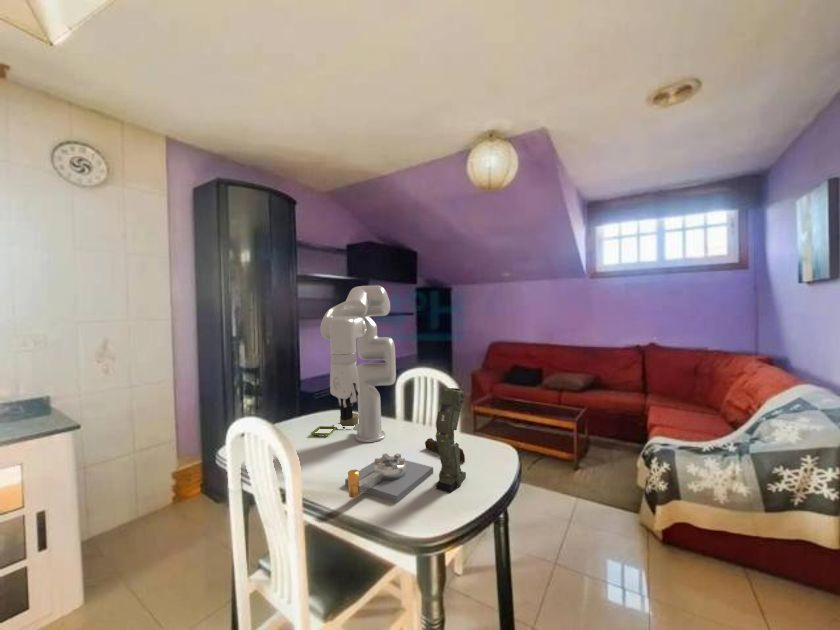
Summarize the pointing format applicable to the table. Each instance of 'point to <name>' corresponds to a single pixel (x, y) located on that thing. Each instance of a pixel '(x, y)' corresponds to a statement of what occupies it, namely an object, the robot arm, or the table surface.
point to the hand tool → (433, 445)
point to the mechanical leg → (449, 440)
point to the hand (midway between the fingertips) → (346, 418)
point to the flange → (350, 421)
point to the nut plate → (397, 481)
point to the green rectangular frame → (323, 428)
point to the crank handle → (377, 474)
